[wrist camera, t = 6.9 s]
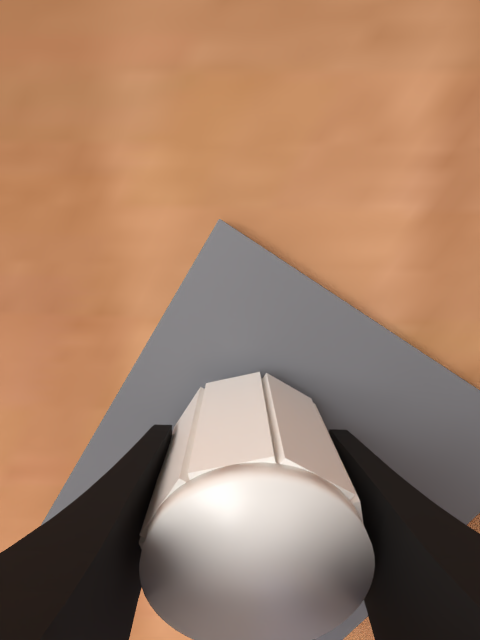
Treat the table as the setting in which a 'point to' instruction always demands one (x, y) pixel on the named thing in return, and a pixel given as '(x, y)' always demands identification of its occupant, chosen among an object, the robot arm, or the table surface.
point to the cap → (254, 520)
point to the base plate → (295, 376)
